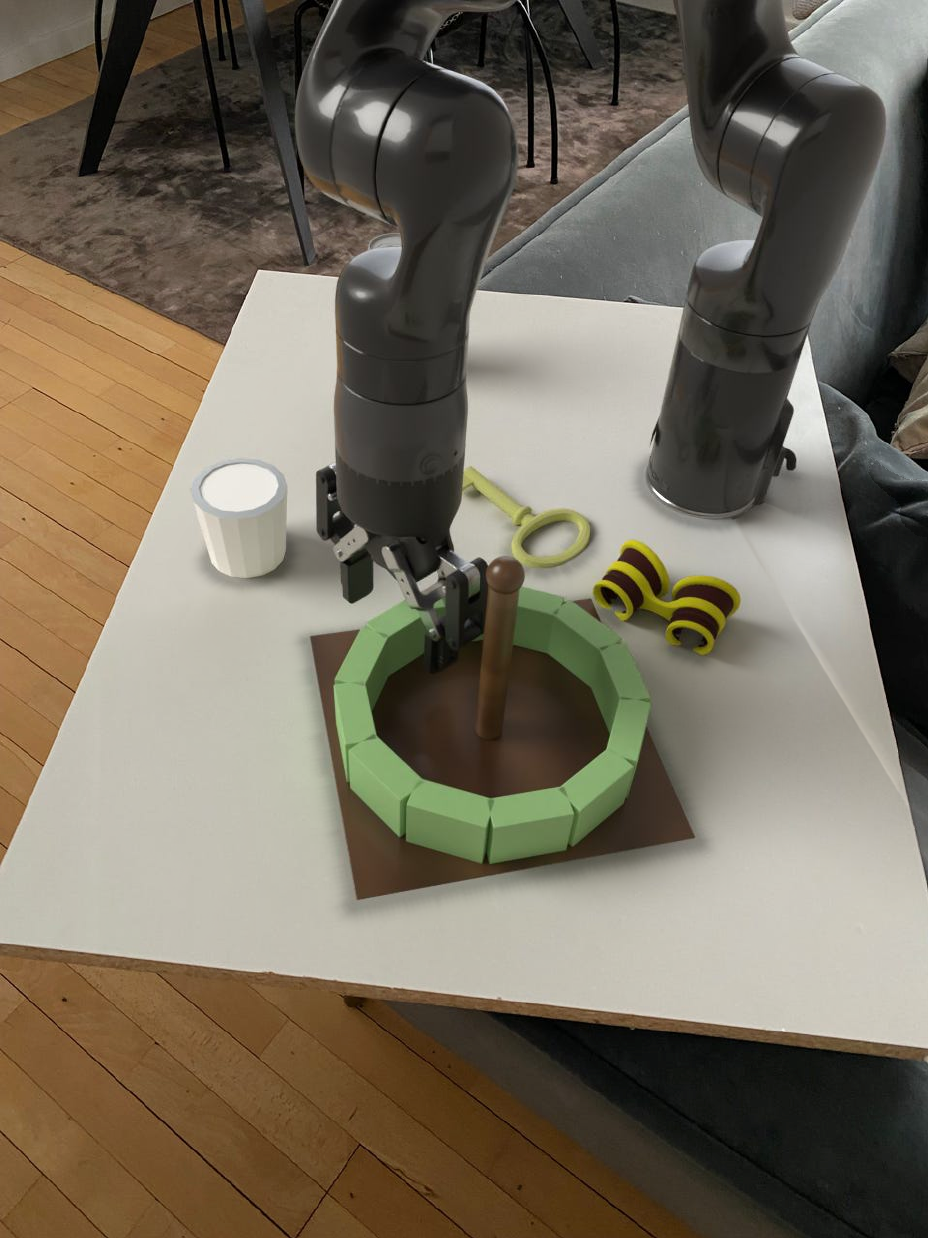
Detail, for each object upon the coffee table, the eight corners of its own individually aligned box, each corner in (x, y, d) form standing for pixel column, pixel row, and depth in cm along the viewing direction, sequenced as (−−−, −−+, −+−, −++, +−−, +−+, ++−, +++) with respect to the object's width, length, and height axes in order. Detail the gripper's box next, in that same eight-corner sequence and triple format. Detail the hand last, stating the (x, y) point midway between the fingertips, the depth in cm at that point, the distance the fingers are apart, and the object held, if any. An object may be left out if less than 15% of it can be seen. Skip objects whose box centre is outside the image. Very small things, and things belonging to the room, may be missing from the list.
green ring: (584, 605, 78) (592, 566, 75) (680, 829, 65) (694, 793, 62) (320, 641, 74) (317, 601, 71) (366, 887, 61) (364, 850, 58)
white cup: (205, 529, 82) (193, 457, 77) (293, 525, 83) (287, 455, 78) (200, 590, 77) (186, 519, 72) (293, 586, 78) (286, 515, 73)
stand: (589, 603, 79) (623, 430, 67) (693, 842, 65) (758, 676, 53) (310, 641, 75) (294, 464, 63) (356, 905, 61) (347, 739, 49)
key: (463, 481, 88) (465, 460, 86) (598, 531, 84) (602, 511, 83) (421, 530, 83) (422, 510, 82) (562, 586, 80) (565, 566, 78)
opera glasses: (586, 614, 79) (590, 574, 75) (621, 566, 81) (626, 525, 77) (703, 672, 75) (714, 635, 71) (735, 621, 78) (747, 581, 74)
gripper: (534, 471, 58) (508, 663, 70) (372, 360, 65) (373, 551, 77) (434, 527, 55) (424, 720, 66) (273, 403, 61) (290, 597, 73)
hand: (397, 629), depth 72 cm, fingers open, 8 cm apart
